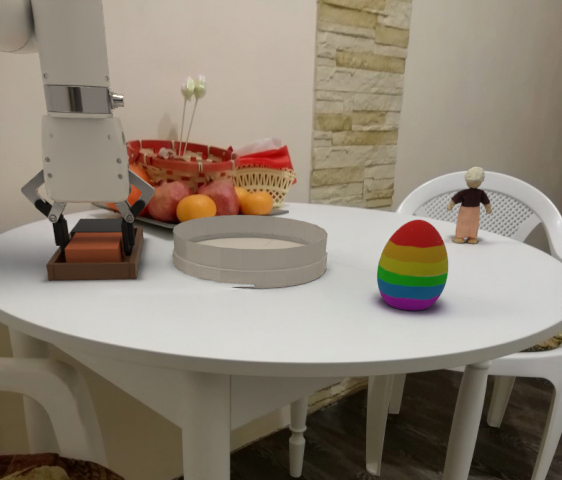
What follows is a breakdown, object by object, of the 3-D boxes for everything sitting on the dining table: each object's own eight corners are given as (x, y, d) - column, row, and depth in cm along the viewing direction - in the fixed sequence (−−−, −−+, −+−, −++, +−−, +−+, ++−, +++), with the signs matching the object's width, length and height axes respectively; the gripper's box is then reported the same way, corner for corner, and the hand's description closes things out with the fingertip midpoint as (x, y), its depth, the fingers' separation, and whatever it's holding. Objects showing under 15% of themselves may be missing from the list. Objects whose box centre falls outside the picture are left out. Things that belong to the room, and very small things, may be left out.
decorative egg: (399, 288, 72) (410, 210, 67) (454, 305, 66) (470, 222, 62) (360, 301, 66) (369, 217, 62) (416, 320, 61) (430, 230, 57)
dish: (212, 240, 91) (211, 210, 89) (340, 255, 86) (343, 223, 84) (143, 275, 73) (140, 238, 70) (302, 297, 67) (305, 257, 65)
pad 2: (68, 276, 69) (64, 248, 68) (79, 257, 77) (75, 232, 76) (120, 275, 70) (117, 248, 69) (125, 256, 78) (123, 232, 77)
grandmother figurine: (478, 239, 100) (492, 165, 94) (487, 244, 96) (503, 168, 90) (437, 239, 99) (450, 164, 93) (446, 244, 95) (459, 167, 90)
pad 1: (73, 256, 78) (70, 231, 76) (82, 241, 86) (79, 218, 84) (131, 255, 79) (129, 231, 77) (135, 240, 87) (133, 218, 86)
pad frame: (49, 285, 68) (45, 264, 67) (75, 243, 87) (73, 226, 85) (136, 283, 70) (134, 263, 68) (143, 243, 88) (142, 226, 87)
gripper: (154, 105, 70) (163, 243, 78) (9, 100, 67) (34, 244, 75) (153, 107, 63) (162, 257, 71) (-8, 101, 60) (21, 259, 68)
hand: (96, 250), depth 73 cm, fingers open, 7 cm apart
